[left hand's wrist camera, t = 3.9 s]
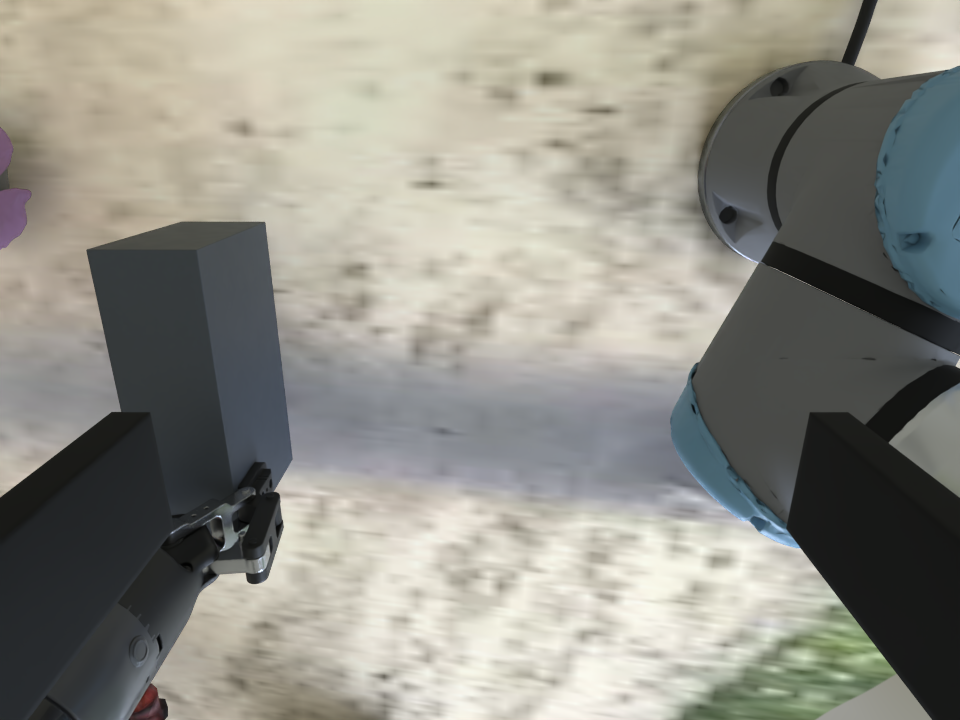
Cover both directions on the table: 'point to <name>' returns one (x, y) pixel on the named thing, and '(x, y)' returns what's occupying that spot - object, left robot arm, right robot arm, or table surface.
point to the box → (197, 352)
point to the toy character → (10, 197)
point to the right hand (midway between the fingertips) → (215, 473)
